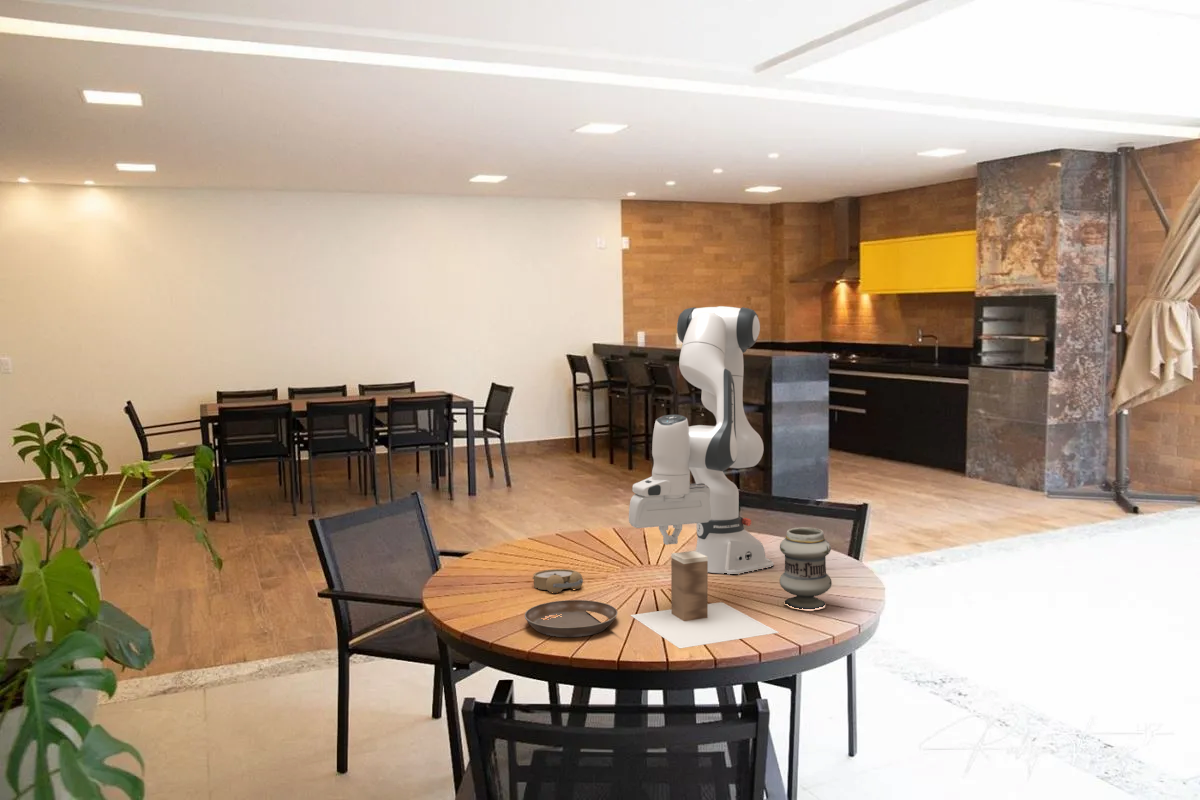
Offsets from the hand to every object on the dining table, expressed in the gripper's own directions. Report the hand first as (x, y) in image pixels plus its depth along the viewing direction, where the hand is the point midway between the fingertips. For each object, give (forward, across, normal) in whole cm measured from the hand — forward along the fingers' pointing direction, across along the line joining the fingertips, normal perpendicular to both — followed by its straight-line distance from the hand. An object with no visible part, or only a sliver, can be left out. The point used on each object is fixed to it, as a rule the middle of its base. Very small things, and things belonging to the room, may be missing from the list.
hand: (670, 543), depth 216 cm
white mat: (+16, 0, +15) cm, 21 cm away
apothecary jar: (+15, -30, +11) cm, 36 cm away
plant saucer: (+16, +26, +2) cm, 30 cm away
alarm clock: (+16, +17, -28) cm, 37 cm away
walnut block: (+15, 0, +9) cm, 17 cm away
